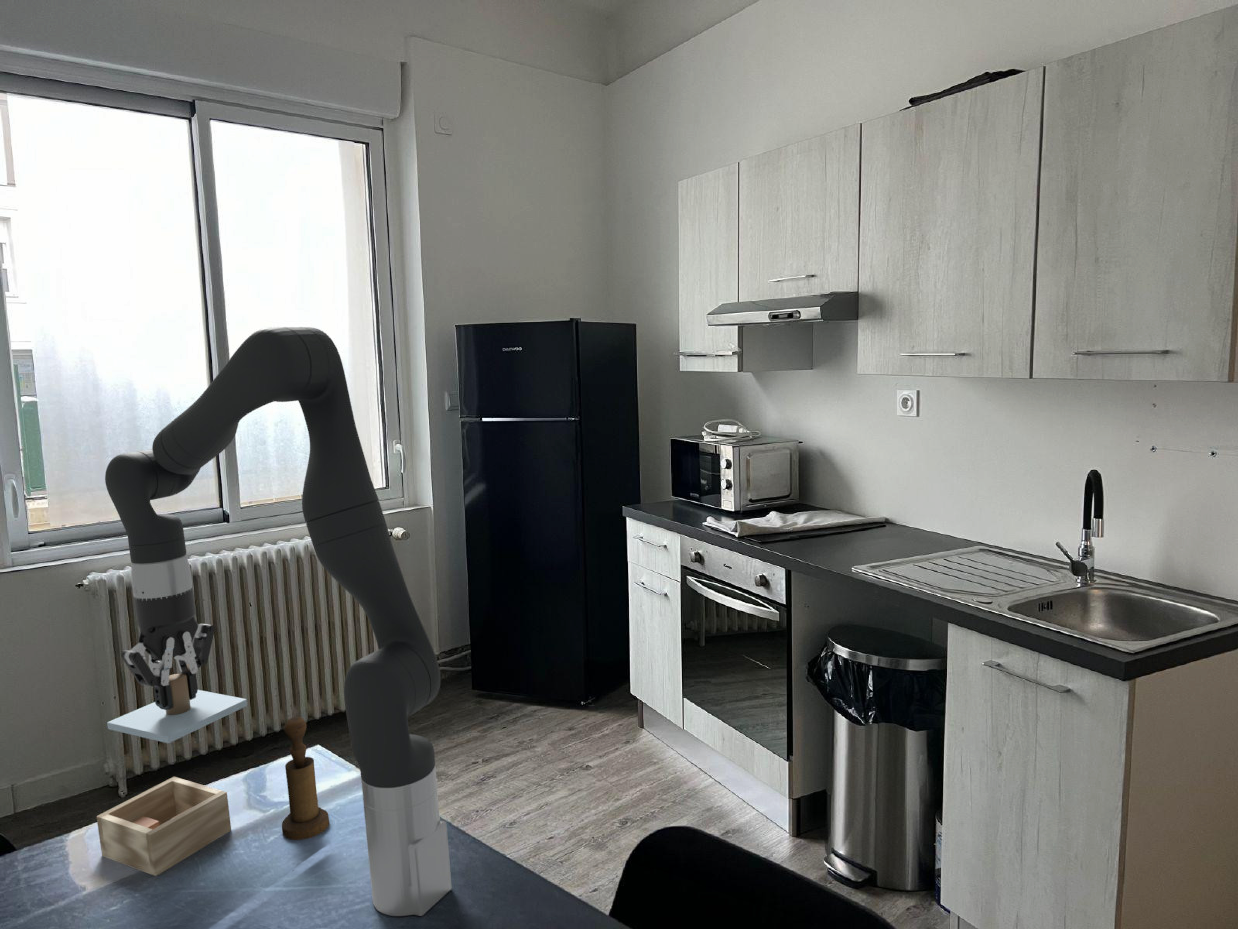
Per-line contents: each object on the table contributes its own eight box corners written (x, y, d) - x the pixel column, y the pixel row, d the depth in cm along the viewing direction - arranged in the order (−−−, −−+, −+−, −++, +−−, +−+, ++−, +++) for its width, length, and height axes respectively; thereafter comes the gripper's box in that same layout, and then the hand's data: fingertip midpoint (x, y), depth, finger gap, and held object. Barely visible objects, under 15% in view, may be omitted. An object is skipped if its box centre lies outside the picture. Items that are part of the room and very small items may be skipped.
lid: (247, 705, 127) (242, 667, 127) (168, 743, 116) (162, 701, 115) (188, 694, 133) (184, 657, 132) (108, 729, 122) (102, 689, 121)
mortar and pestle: (337, 821, 129) (326, 709, 127) (318, 846, 123) (306, 728, 120) (295, 821, 130) (283, 709, 128) (274, 846, 124) (261, 728, 121)
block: (162, 843, 124) (159, 821, 123) (139, 857, 121) (136, 834, 120) (146, 838, 125) (143, 816, 125) (123, 851, 122) (120, 828, 122)
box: (232, 836, 127) (226, 792, 126) (156, 882, 116) (150, 835, 115) (179, 819, 132) (173, 776, 131) (103, 862, 122) (96, 816, 121)
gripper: (133, 605, 114) (150, 727, 116) (223, 577, 127) (236, 688, 129) (98, 600, 117) (115, 719, 120) (189, 574, 130) (202, 682, 132)
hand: (178, 702), depth 124 cm, fingers closed on lid, 3 cm apart
